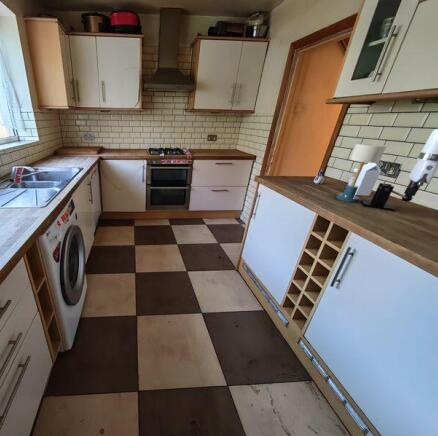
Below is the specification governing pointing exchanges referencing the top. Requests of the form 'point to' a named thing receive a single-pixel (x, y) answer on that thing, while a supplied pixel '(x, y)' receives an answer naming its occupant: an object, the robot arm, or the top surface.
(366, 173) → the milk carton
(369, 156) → the table lamp
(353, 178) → the sprinkles bottle
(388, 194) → the switch bracket
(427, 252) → the top surface
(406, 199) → the lamp switch
